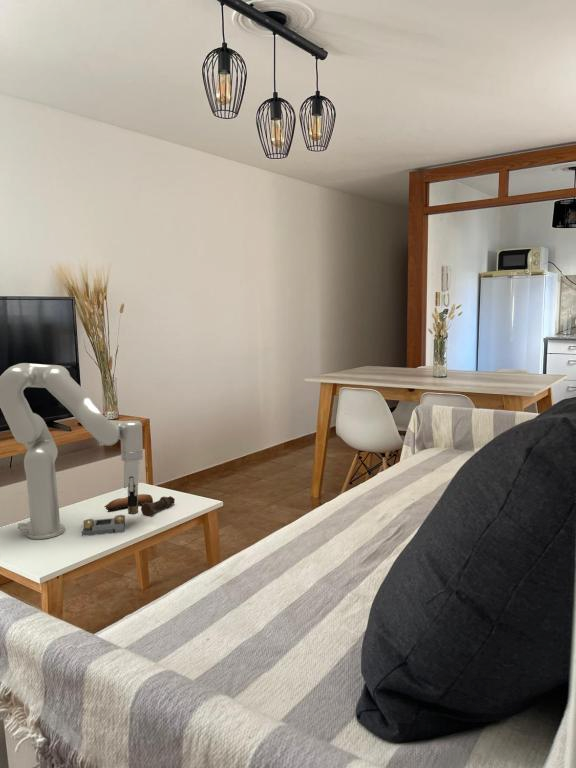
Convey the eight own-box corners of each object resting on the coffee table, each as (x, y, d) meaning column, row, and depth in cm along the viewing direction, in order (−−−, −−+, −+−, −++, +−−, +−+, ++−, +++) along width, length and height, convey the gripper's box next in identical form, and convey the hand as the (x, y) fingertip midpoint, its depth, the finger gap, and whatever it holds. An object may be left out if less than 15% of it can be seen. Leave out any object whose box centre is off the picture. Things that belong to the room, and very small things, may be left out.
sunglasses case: (146, 498, 243) (148, 486, 239) (152, 510, 238) (153, 498, 234) (102, 506, 234) (103, 494, 230) (107, 519, 229) (108, 507, 225)
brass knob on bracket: (82, 536, 203) (81, 523, 202) (84, 528, 209) (84, 516, 209) (124, 531, 205) (123, 519, 205) (126, 524, 212) (125, 513, 212)
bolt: (174, 509, 234) (148, 520, 221) (165, 501, 236) (139, 511, 223) (179, 497, 232) (153, 508, 219) (170, 490, 234) (144, 499, 221)
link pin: (126, 515, 211) (125, 479, 209) (127, 511, 215) (126, 476, 214) (139, 514, 212) (138, 479, 210) (139, 510, 216) (139, 476, 215)
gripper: (123, 450, 218) (124, 498, 221) (119, 460, 202) (120, 512, 204) (143, 449, 220) (144, 497, 222) (141, 460, 204) (142, 511, 206)
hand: (132, 503), depth 213 cm, fingers closed on link pin, 3 cm apart
